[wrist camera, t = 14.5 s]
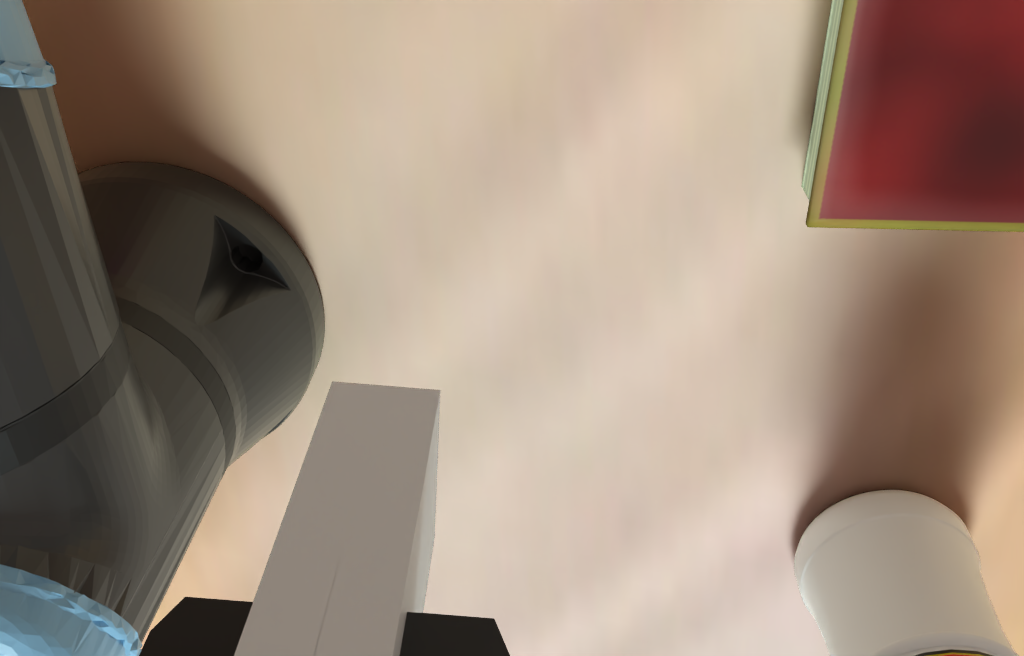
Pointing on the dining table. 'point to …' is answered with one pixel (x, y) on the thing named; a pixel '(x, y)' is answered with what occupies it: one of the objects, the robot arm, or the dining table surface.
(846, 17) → the hardcover book
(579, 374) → the dining table surface
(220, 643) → the robot arm
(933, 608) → the vodka
